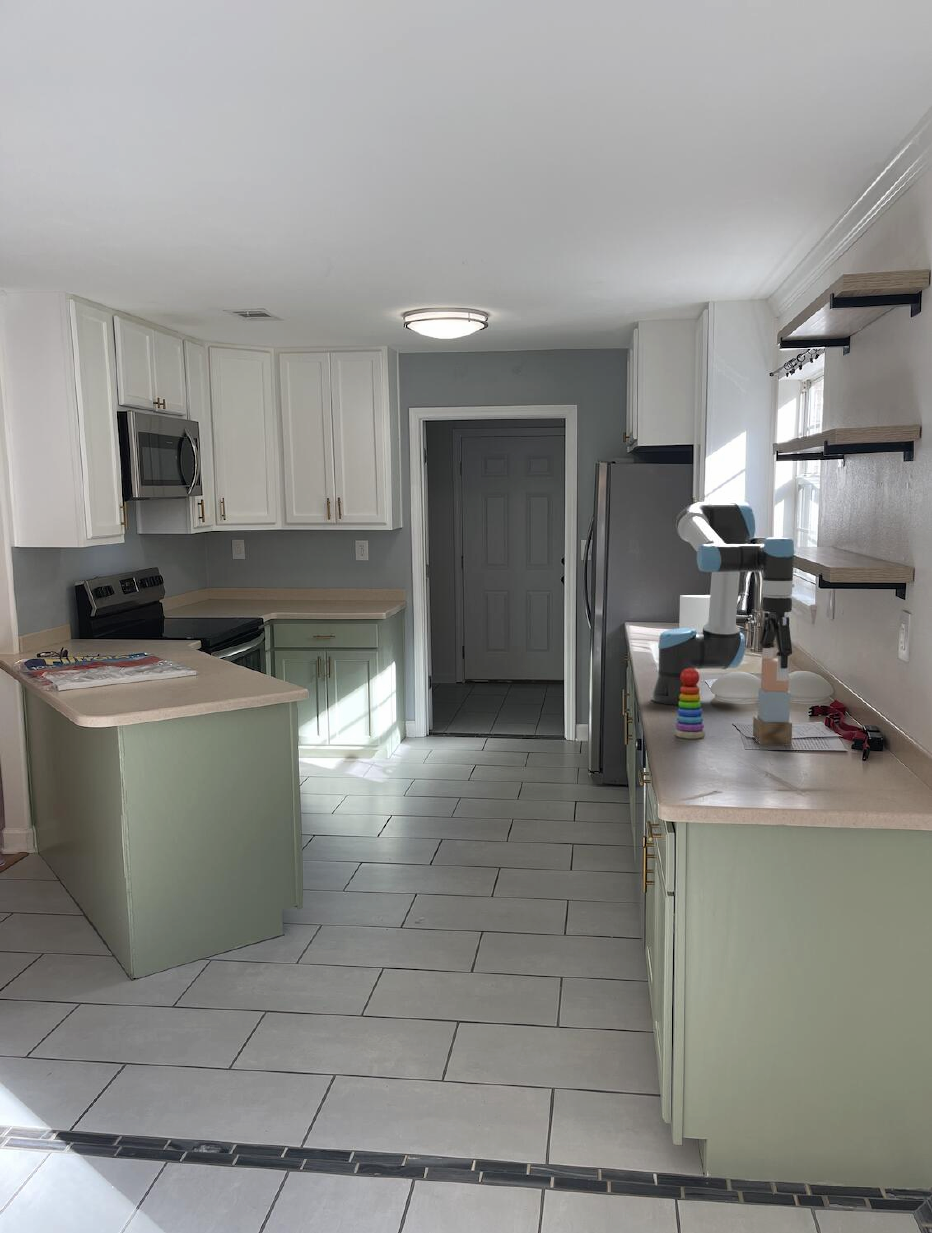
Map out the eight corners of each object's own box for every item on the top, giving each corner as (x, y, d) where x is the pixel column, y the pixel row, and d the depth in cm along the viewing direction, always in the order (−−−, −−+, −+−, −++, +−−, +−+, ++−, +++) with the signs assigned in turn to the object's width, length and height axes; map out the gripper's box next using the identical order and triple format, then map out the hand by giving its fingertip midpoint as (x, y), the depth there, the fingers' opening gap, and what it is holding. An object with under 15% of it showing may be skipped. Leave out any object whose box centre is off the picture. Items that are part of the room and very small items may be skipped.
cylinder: (728, 667, 380) (730, 597, 377) (685, 668, 379) (686, 597, 376) (713, 661, 397) (715, 593, 394) (672, 661, 396) (673, 593, 393)
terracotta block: (767, 691, 255) (768, 661, 254) (760, 687, 260) (761, 658, 259) (788, 691, 255) (789, 661, 254) (781, 687, 260) (782, 658, 259)
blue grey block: (764, 721, 255) (765, 692, 254) (757, 716, 262) (758, 687, 261) (788, 722, 255) (790, 692, 254) (782, 717, 261) (783, 687, 260)
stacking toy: (707, 734, 266) (709, 667, 264) (701, 740, 259) (703, 671, 257) (678, 731, 270) (680, 665, 268) (672, 738, 262) (673, 669, 260)
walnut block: (760, 745, 255) (761, 722, 254) (752, 738, 263) (753, 716, 262) (791, 745, 255) (792, 722, 254) (782, 738, 263) (783, 716, 262)
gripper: (807, 600, 242) (804, 684, 245) (777, 592, 267) (774, 668, 269) (777, 600, 243) (774, 684, 245) (750, 592, 267) (747, 668, 270)
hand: (774, 676), depth 257 cm, fingers open, 13 cm apart
